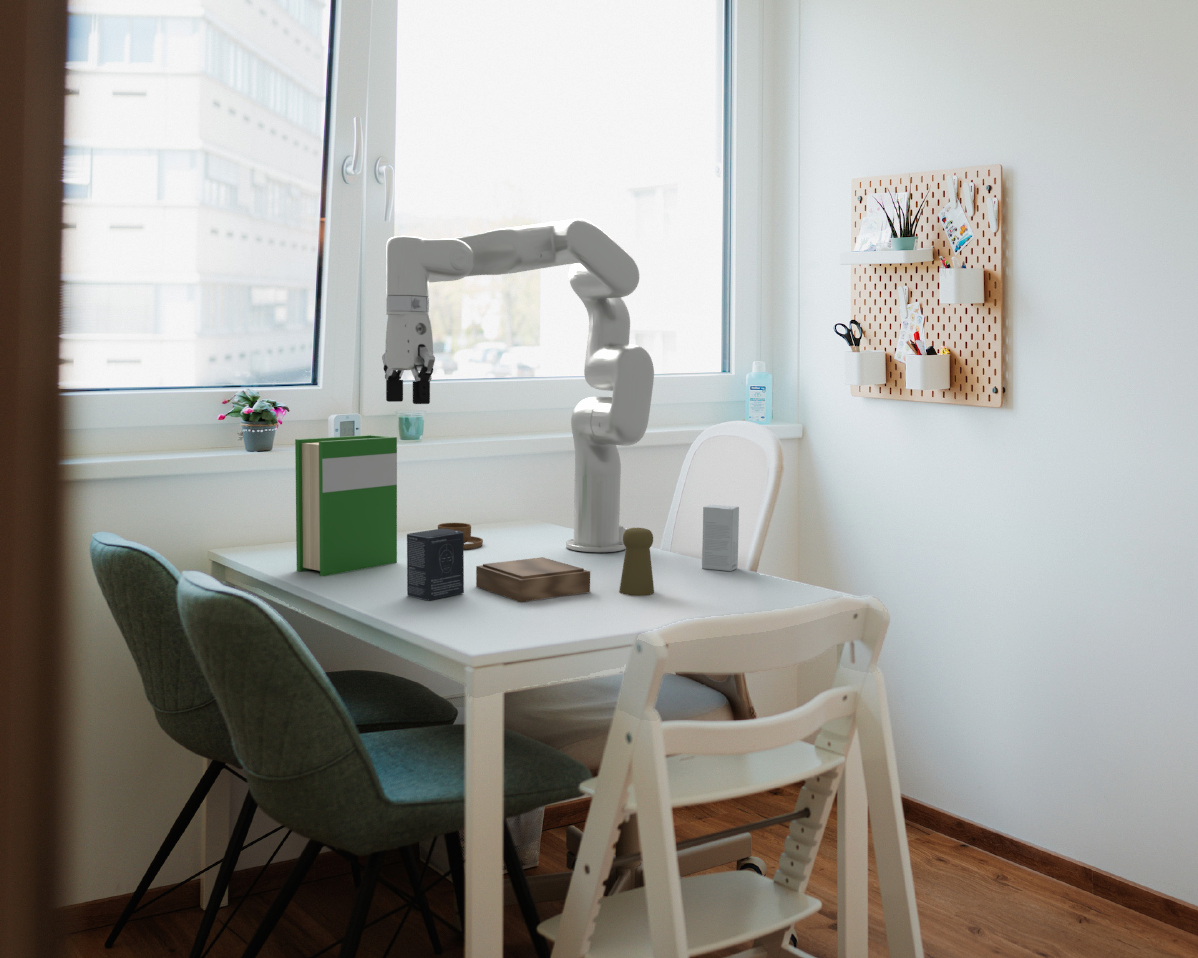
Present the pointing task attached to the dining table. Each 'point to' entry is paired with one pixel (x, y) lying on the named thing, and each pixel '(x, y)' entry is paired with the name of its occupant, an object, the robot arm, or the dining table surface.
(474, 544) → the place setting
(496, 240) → the robot arm
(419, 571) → the box
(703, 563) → the skincare box
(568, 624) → the dining table surface
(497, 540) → the dining table surface
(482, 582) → the walnut plinth
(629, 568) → the cork
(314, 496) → the hardback book
